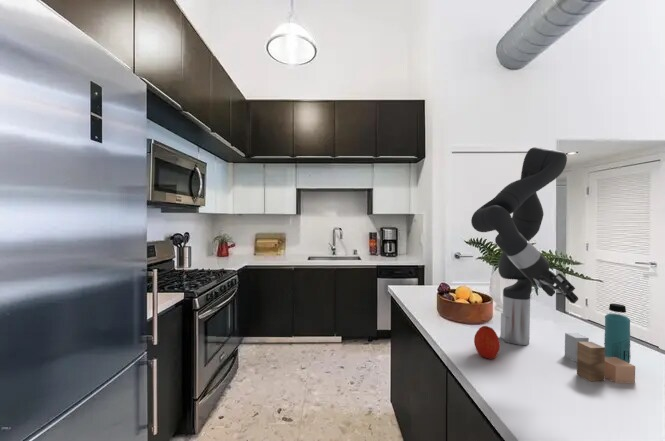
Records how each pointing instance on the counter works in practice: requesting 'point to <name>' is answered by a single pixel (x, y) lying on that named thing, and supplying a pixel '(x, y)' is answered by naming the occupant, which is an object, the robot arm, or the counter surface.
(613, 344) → the beverage bottle
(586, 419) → the counter surface
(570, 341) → the grey post
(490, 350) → the red ellipsoid
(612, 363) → the terracotta block
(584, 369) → the tan rectangular block
